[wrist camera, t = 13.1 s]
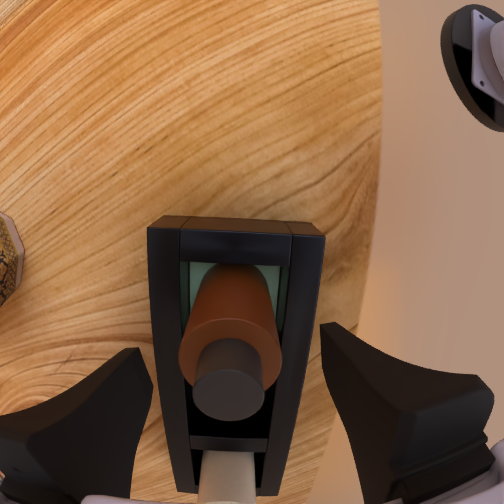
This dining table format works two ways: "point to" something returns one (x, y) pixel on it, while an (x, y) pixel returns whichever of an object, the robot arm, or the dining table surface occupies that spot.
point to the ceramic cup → (9, 258)
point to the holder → (287, 323)
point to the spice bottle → (231, 342)
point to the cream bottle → (227, 478)
